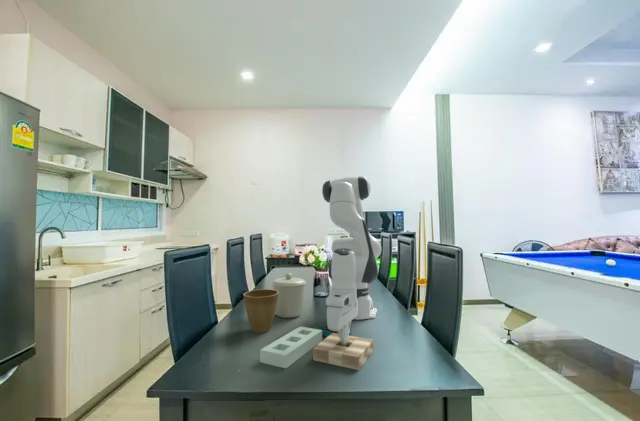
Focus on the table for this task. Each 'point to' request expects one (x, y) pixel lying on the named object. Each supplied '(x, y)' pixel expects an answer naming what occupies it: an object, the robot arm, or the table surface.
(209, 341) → the table surface
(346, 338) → the steel peg
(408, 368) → the table surface
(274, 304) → the plant pot
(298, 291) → the canister
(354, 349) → the socket block
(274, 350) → the block
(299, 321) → the table surface
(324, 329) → the digital multimeter
